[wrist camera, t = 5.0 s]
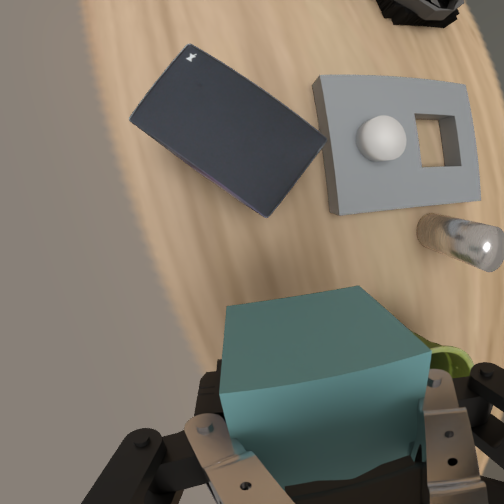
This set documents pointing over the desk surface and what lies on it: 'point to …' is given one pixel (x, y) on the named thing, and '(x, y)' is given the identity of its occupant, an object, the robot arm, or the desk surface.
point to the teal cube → (321, 384)
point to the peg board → (406, 168)
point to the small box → (228, 129)
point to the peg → (463, 240)
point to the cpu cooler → (421, 12)
